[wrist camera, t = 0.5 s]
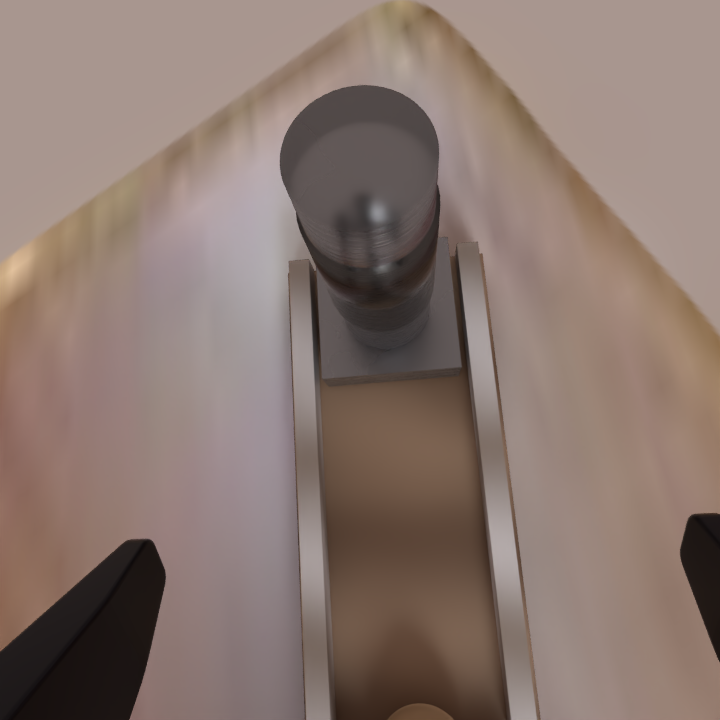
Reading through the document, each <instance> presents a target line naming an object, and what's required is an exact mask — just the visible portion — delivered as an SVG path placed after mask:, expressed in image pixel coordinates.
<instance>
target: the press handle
mask: <svg viewBox="0 0 720 720" xmlns="http://www.w3.org/2000/svg"><path fill="white" fill-rule="evenodd" d="M438 163H439V144H438V139H437V135H436V132H435V129H434V126H433V124H432V123H431V121H430V119H429V117H428V116H427V115H426V113H425V112H424V111H423V110H422V109H421V108H420V107H419V106H418V105H417V104H416V103H415V102H414V101H412V100H411V99H410V98H408V97H406V96H405V95H403V94H401V93H399V92H396V91H394V90H391V89H387V88H384V87H378V86H367V85H361V86H351V87H346V88H342V89H338V90H335V91H332V92H330V93H328V94H325V95H323V96H322V97H320V98H318V99H316V100H315V101H314V102H312V103H311V104H309V105H308V106H307V107H306V108H305V109H304V110H303V111H302V112H300V114H299V115H298V116H297V117H296V118H295V120H294V121H293V123H292V124H291V126H290V127H289V129H288V131H287V133H286V135H285V137H284V141H283V144H282V148H281V153H280V170H281V176H282V179H283V183H284V185H285V187H286V190H287V192H288V194H289V197H290V199H291V201H292V203H293V206H294V208H295V210H296V215H297V222H298V226H299V229H300V232H301V234H302V236H303V239H304V241H305V243H306V245H307V247H308V249H309V252H310V254H311V256H312V258H313V260H314V262H315V265H316V270H317V290H318V310H319V330H320V350H321V369H322V380H323V381H324V382H325V383H326V384H327V385H328V386H329V387H332V386H344V385H356V384H368V383H380V382H392V381H404V380H416V379H428V378H440V377H452V376H459V373H460V370H461V368H462V365H461V356H460V347H459V338H458V329H457V320H456V311H455V302H454V293H453V284H452V274H451V265H450V256H449V247H448V238H447V237H441V238H438V228H439V215H440V193H439V188H438V185H437V179H438Z"/></svg>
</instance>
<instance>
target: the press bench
mask: <svg viewBox="0 0 720 720" xmlns="http://www.w3.org/2000/svg"><path fill="white" fill-rule="evenodd" d="M450 265H451V274H452V284H453V293H454V302H455V311H456V320H457V329H458V338H459V347H460V356H461V365H462V368H461V370H460V373H459V376H452V377H440V378H428V379H416V380H404V381H392V382H380V383H368V384H356V385H344V386H332V387H329V386H328V385H327V384H326V383H325V382H324V381H323V380H322V369H321V350H320V330H319V310H318V290H317V270H316V271H314V269H313V267H312V265H311V263H310V261H309V259H305V260H295V261H289V273H288V281H289V307H290V334H291V360H292V387H293V413H294V440H295V466H296V492H297V519H298V545H299V572H300V598H301V625H302V651H303V678H304V704H305V720H541V719H540V711H539V703H538V695H537V687H536V679H535V671H534V663H533V655H532V647H531V639H530V631H529V623H528V615H527V607H526V599H525V591H524V583H523V575H522V567H521V559H520V551H519V543H518V535H517V527H516V519H515V511H514V503H513V495H512V487H511V479H510V471H509V463H508V455H507V447H506V439H505V431H504V423H503V415H502V407H501V399H500V391H499V383H498V375H497V367H496V359H495V351H494V343H493V335H492V327H491V319H490V311H489V303H488V295H487V287H486V279H485V271H484V263H483V255H482V254H479V247H478V242H469V243H460V244H457V246H456V253H455V256H453V257H450Z"/></svg>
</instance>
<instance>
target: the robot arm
mask: <svg viewBox="0 0 720 720" xmlns="http://www.w3.org/2000/svg"><path fill="white" fill-rule="evenodd" d="M680 557H681V562H682V565H683V568H684V571H685V573H686V576H687V579H688V581H689V584H690V587H691V589H692V592H693V595H694V597H695V600H696V603H697V605H698V608H699V611H700V613H701V616H702V619H703V621H704V624H705V627H706V629H707V632H708V635H709V638H710V640H711V643H712V645H713V648H714V650H715V653H716V655H717V658H718V660H719V662H720V514H717V513H702V514H693V515H691V516H690V517H689V518H688V521H687V524H686V528H685V532H684V536H683V540H682V544H681V549H680ZM165 580H166V574H165V569H164V566H163V564H162V561H161V559H160V557H159V554H158V552H157V549H156V547H155V544H154V543H153V541H152V540H150V539H131V540H127V541H125V542H124V543H123V544H122V545H120V546H119V547H118V548H117V549H116V550H115V551H114V552H112V553H111V554H110V555H109V556H108V557H107V558H106V559H105V560H103V561H102V562H101V563H100V564H99V565H98V566H97V567H96V568H94V569H93V570H92V571H91V572H90V573H89V574H88V575H86V576H85V577H84V578H83V579H82V580H81V581H80V582H79V583H77V584H76V585H75V586H74V587H73V588H72V589H71V590H69V591H68V592H67V593H66V594H65V595H64V596H63V597H62V598H60V599H59V600H58V601H57V602H56V603H55V604H54V605H53V606H51V607H50V608H49V609H48V610H47V611H46V612H45V613H43V614H42V615H41V616H40V617H39V618H38V619H37V620H36V621H34V622H33V623H32V624H31V625H30V626H29V627H28V628H26V629H25V630H24V631H23V632H22V633H21V634H20V635H19V636H17V637H16V638H15V639H14V640H13V641H12V642H11V643H9V644H8V645H7V646H6V647H5V648H4V649H3V650H2V651H0V720H129V719H130V716H131V713H132V710H133V707H134V704H135V701H136V698H137V695H138V692H139V689H140V686H141V683H142V680H143V676H144V673H145V670H146V666H147V662H148V658H149V653H150V649H151V645H152V640H153V636H154V631H155V627H156V622H157V618H158V613H159V609H160V604H161V600H162V596H163V591H164V587H165Z"/></svg>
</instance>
